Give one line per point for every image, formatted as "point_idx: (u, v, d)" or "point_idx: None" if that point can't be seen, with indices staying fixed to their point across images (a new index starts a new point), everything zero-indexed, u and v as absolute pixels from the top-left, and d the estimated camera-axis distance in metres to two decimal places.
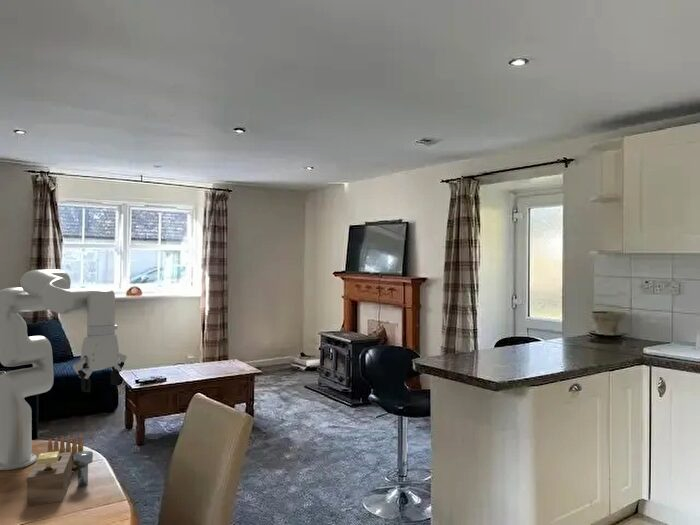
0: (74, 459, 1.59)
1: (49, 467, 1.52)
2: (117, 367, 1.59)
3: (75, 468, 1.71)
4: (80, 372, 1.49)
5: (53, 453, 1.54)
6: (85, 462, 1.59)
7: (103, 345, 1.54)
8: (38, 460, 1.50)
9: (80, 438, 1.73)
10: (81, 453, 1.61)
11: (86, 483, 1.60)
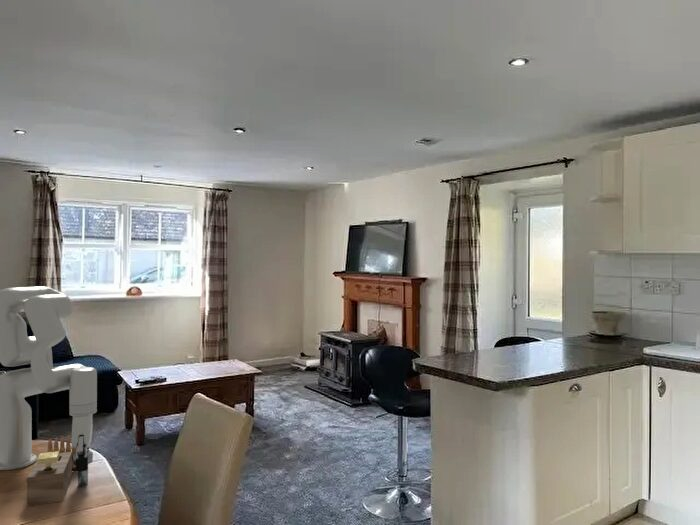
0: (74, 459, 1.59)
1: (49, 467, 1.52)
2: None
3: (75, 468, 1.71)
4: (84, 452, 1.56)
5: (53, 453, 1.54)
6: None
7: (91, 421, 1.61)
8: (38, 460, 1.50)
9: None
10: None
11: (86, 483, 1.60)
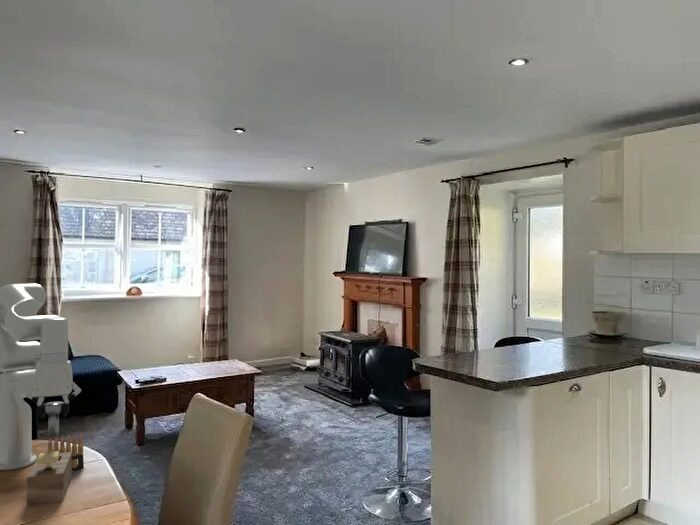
0: (58, 407, 1.59)
1: (49, 467, 1.52)
2: None
3: (75, 468, 1.71)
4: None
5: (53, 453, 1.54)
6: None
7: None
8: (38, 460, 1.50)
9: (80, 438, 1.73)
10: (50, 404, 1.60)
11: None
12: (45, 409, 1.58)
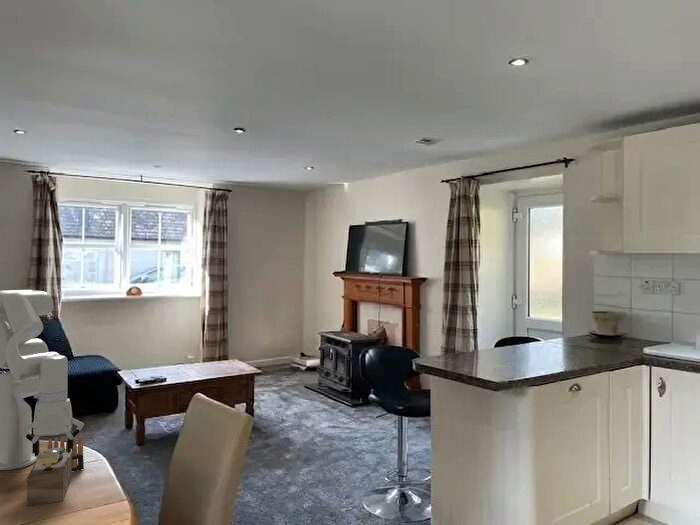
0: None
1: (49, 467, 1.52)
2: None
3: (75, 468, 1.71)
4: None
5: (53, 453, 1.54)
6: None
7: None
8: (38, 460, 1.50)
9: (80, 438, 1.73)
10: (49, 451, 1.60)
11: None
12: None
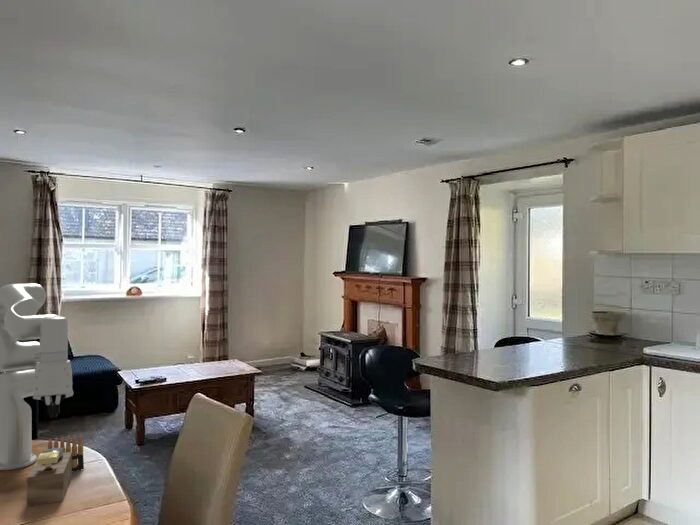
0: None
1: (49, 467, 1.52)
2: None
3: (75, 468, 1.71)
4: None
5: (53, 453, 1.54)
6: None
7: None
8: (38, 460, 1.50)
9: (80, 438, 1.73)
10: (49, 451, 1.60)
11: None
12: None
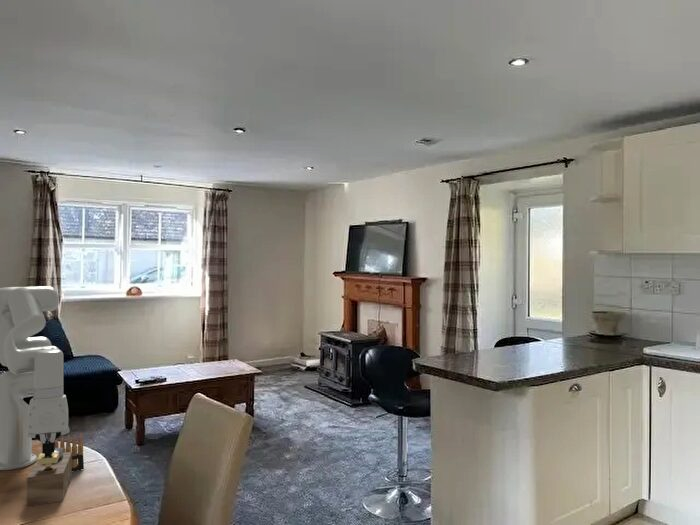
0: None
1: (49, 467, 1.52)
2: None
3: (75, 468, 1.71)
4: None
5: (53, 453, 1.54)
6: None
7: None
8: (38, 460, 1.50)
9: (80, 438, 1.73)
10: None
11: None
12: None
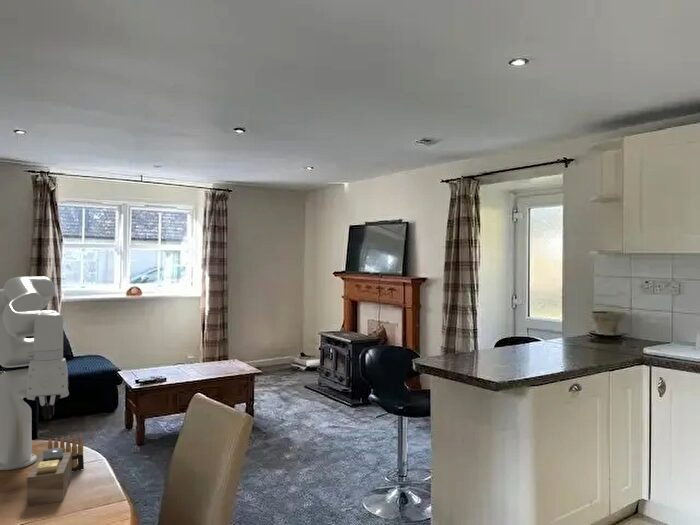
0: (57, 455, 1.59)
1: None
2: None
3: (75, 468, 1.71)
4: None
5: (53, 461, 1.54)
6: None
7: None
8: (38, 469, 1.50)
9: (80, 438, 1.73)
10: (49, 451, 1.60)
11: None
12: (44, 457, 1.58)
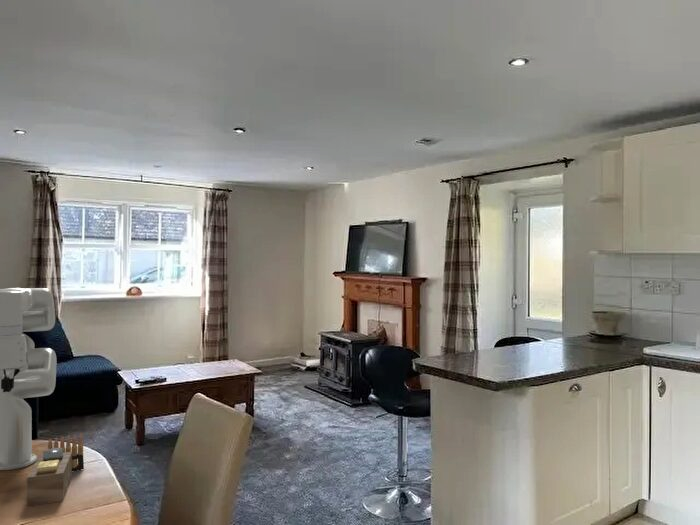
0: (57, 455, 1.59)
1: None
2: None
3: (75, 468, 1.71)
4: None
5: (53, 461, 1.54)
6: None
7: None
8: (38, 469, 1.50)
9: (80, 438, 1.73)
10: (49, 451, 1.60)
11: None
12: (44, 457, 1.58)
